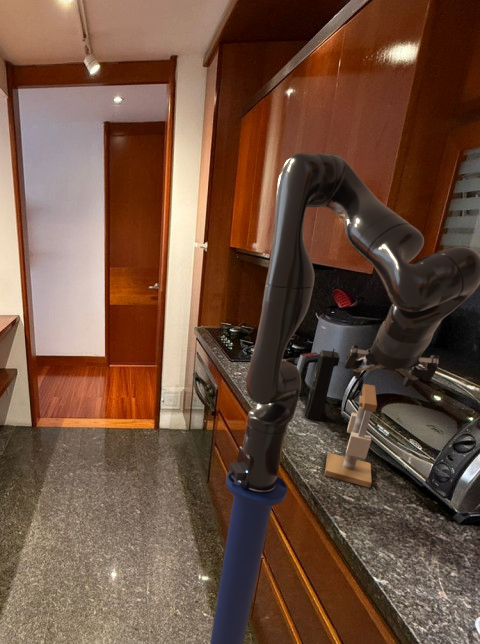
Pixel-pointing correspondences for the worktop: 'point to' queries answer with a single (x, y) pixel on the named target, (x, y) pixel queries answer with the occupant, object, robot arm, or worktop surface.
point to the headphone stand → (350, 461)
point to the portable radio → (321, 385)
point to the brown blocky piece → (362, 425)
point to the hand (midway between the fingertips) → (380, 378)
